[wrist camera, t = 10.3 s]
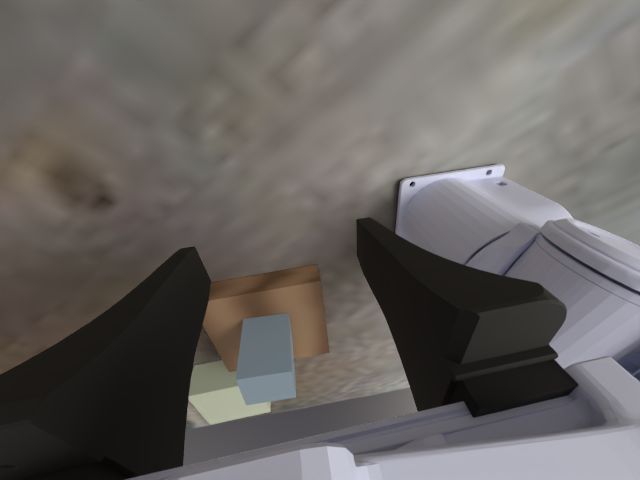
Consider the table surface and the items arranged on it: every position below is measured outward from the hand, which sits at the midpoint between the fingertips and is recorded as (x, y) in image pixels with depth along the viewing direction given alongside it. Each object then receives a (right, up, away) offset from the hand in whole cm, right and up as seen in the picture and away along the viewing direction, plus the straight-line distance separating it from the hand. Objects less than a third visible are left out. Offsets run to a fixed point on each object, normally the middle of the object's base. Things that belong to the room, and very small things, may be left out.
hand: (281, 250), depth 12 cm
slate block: (-4, -9, +15) cm, 18 cm away
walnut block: (-4, -7, +18) cm, 20 cm away
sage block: (-10, -18, +23) cm, 31 cm away
